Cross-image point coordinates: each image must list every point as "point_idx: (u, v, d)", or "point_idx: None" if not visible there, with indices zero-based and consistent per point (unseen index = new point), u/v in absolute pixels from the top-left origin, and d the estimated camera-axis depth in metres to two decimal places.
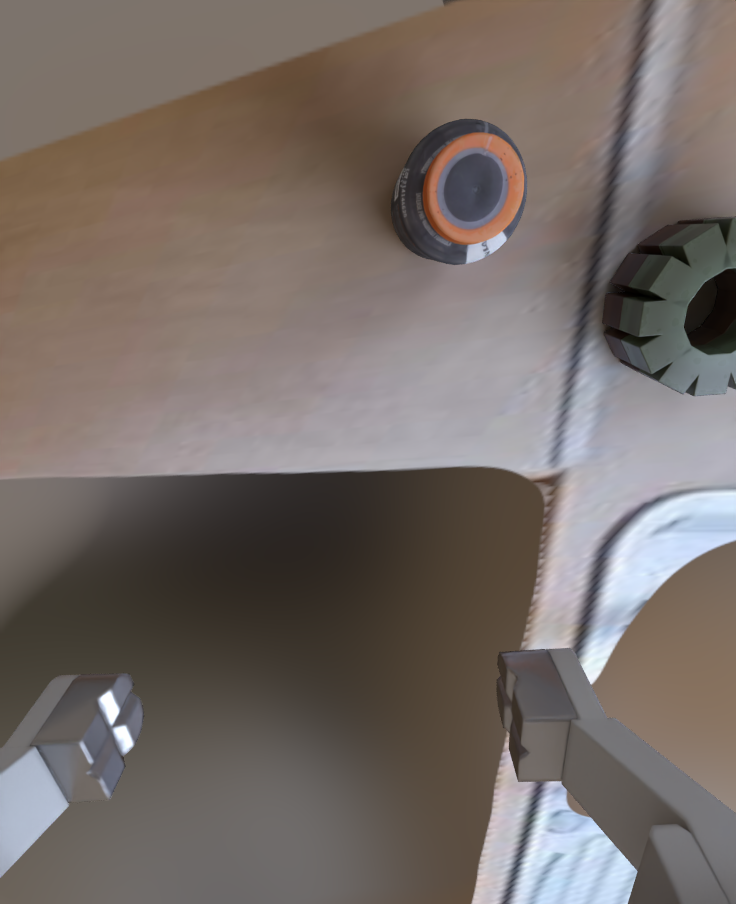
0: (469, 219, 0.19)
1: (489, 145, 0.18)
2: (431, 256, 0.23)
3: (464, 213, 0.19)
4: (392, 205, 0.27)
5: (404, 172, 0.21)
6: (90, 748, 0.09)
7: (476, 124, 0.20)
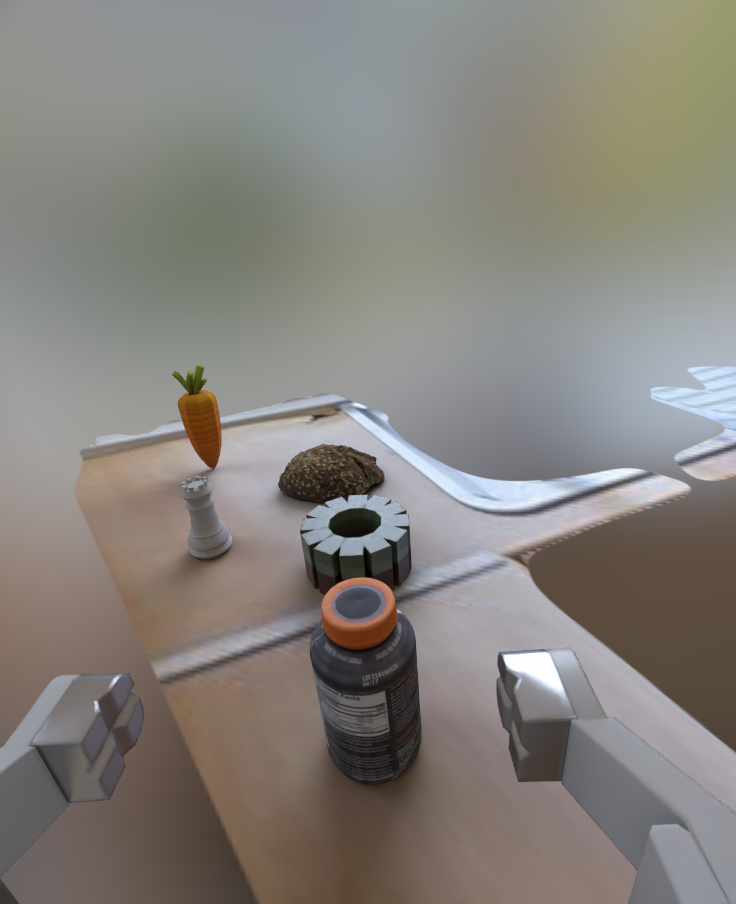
0: (377, 595, 0.25)
1: (328, 605, 0.25)
2: (414, 638, 0.26)
3: (375, 599, 0.25)
4: (392, 748, 0.26)
5: (366, 682, 0.24)
6: (90, 748, 0.09)
7: (314, 647, 0.25)
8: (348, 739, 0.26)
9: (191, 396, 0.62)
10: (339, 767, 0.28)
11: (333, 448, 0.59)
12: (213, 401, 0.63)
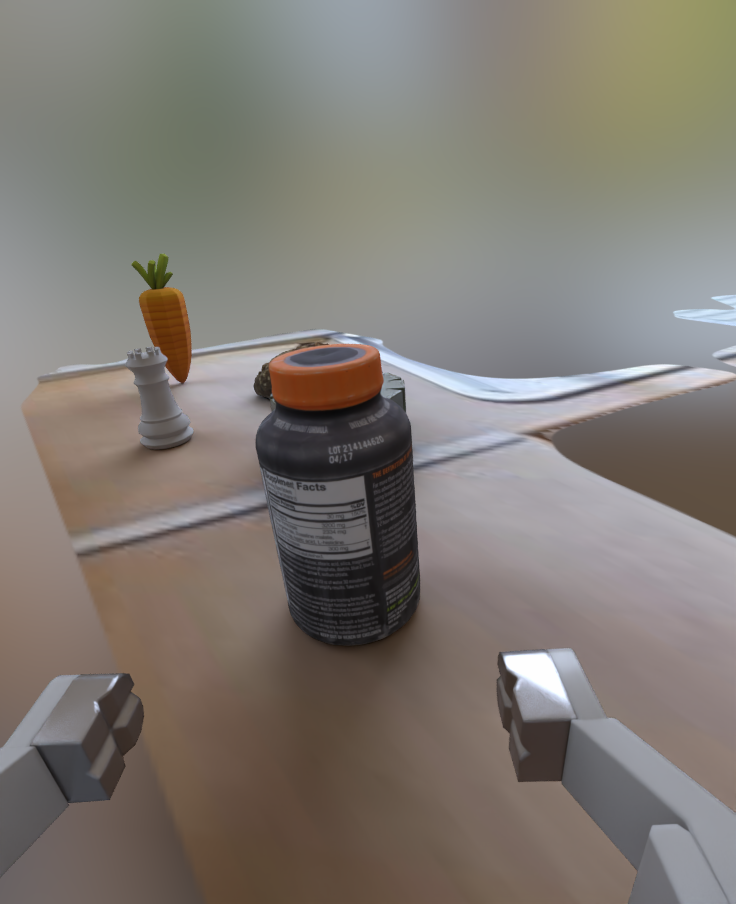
0: (353, 349, 0.17)
1: (279, 360, 0.17)
2: (409, 422, 0.18)
3: (350, 350, 0.17)
4: (378, 585, 0.18)
5: (334, 457, 0.15)
6: (90, 748, 0.09)
7: (261, 429, 0.17)
8: (311, 567, 0.17)
9: (153, 290, 0.54)
10: (303, 626, 0.19)
11: (317, 343, 0.51)
12: (180, 298, 0.55)
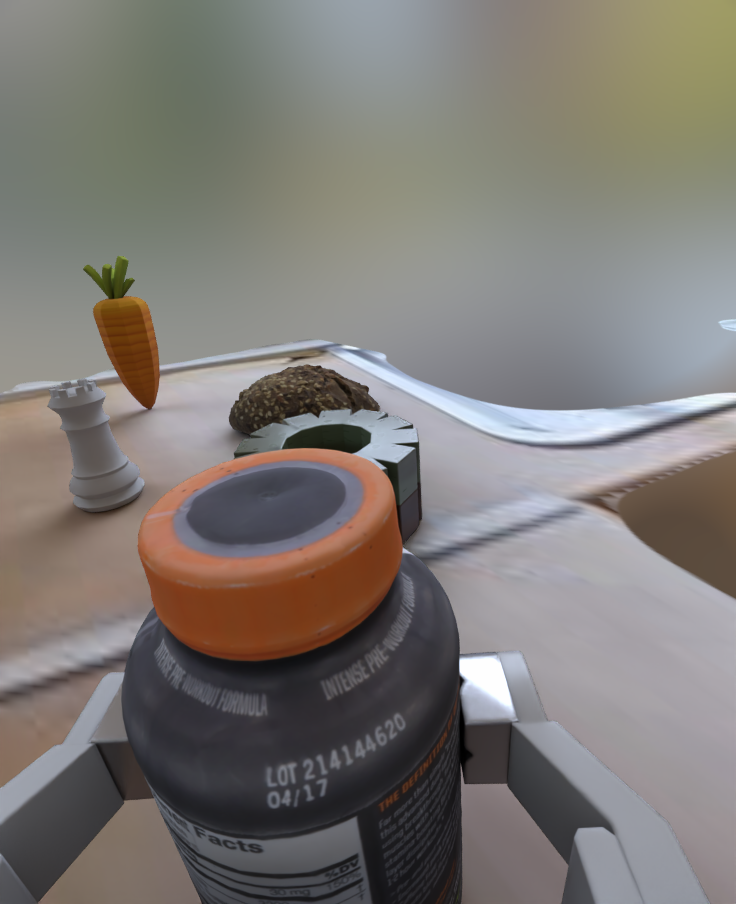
0: (336, 481, 0.08)
1: (167, 511, 0.07)
2: (455, 625, 0.08)
3: (327, 488, 0.07)
4: None
5: (280, 794, 0.06)
6: None
7: (132, 653, 0.08)
8: None
9: (110, 300, 0.44)
10: None
11: (306, 366, 0.41)
12: (143, 309, 0.46)
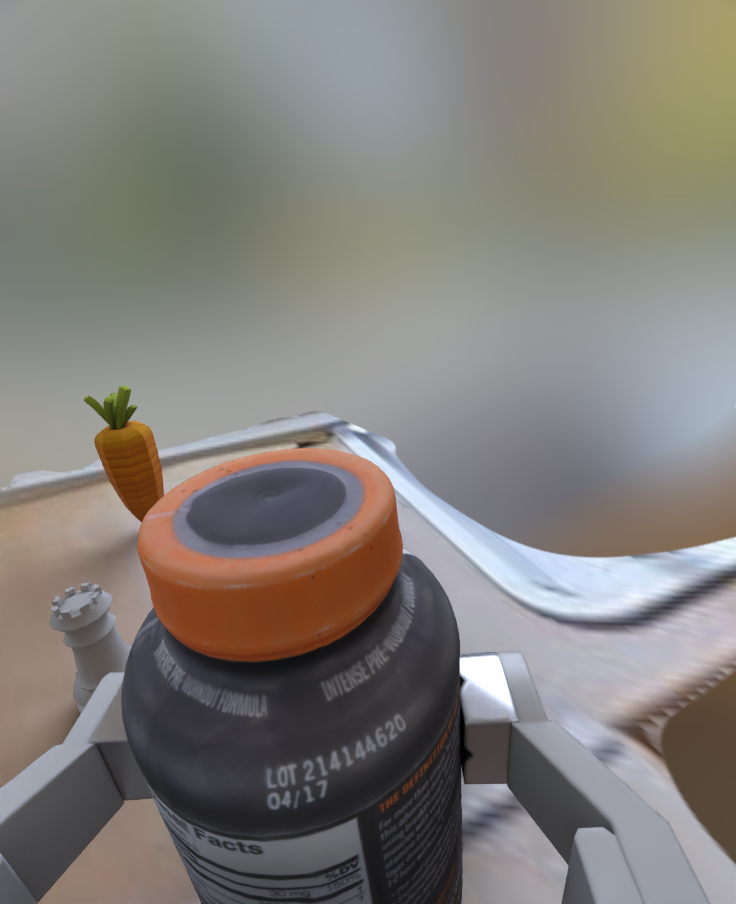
0: (336, 481, 0.08)
1: (167, 511, 0.07)
2: (455, 625, 0.08)
3: (327, 488, 0.07)
4: None
5: (280, 795, 0.06)
6: None
7: (132, 653, 0.08)
8: None
9: (112, 431, 0.43)
10: None
11: None
12: (147, 437, 0.44)
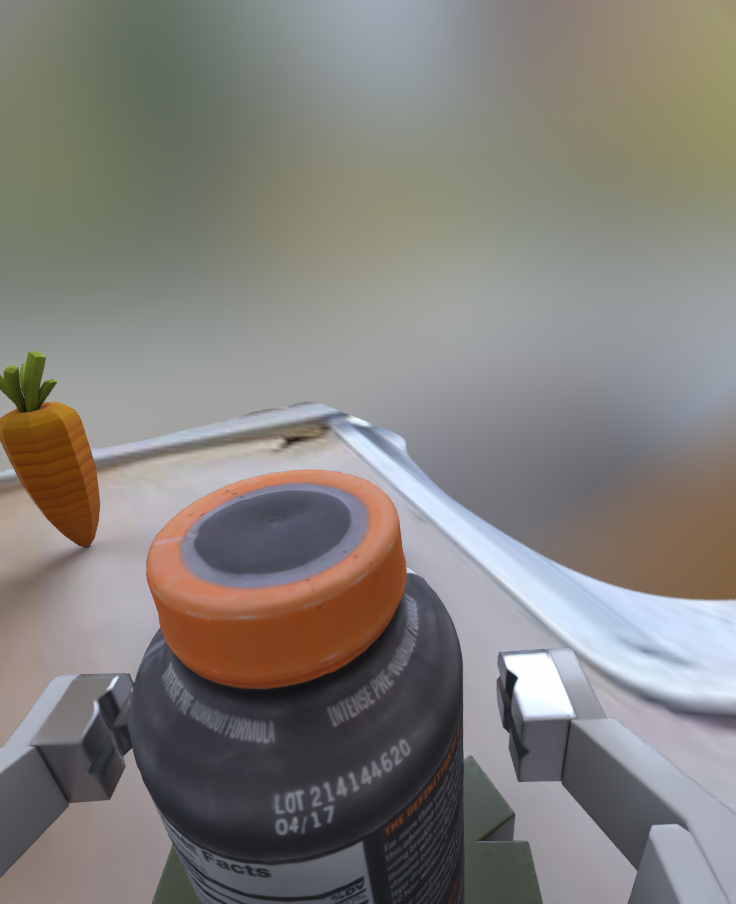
0: (341, 505, 0.08)
1: (174, 537, 0.07)
2: (458, 646, 0.08)
3: (333, 514, 0.07)
4: None
5: (288, 821, 0.06)
6: (90, 748, 0.09)
7: (140, 676, 0.08)
8: None
9: (18, 415, 0.31)
10: None
11: None
12: (70, 423, 0.32)
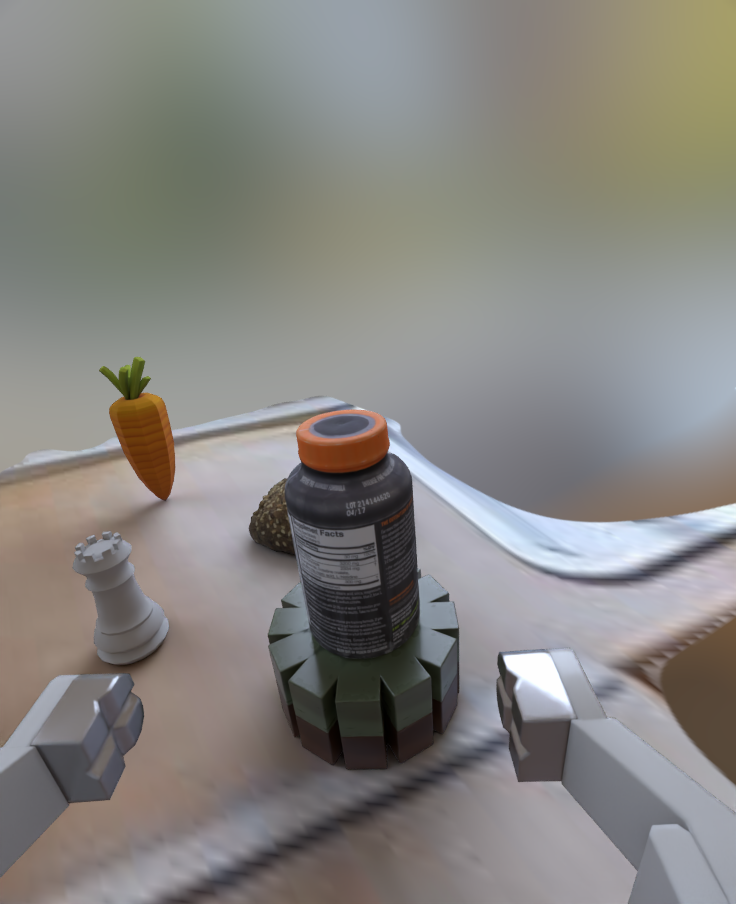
0: (365, 418, 0.21)
1: (305, 428, 0.20)
2: (410, 476, 0.21)
3: (362, 420, 0.20)
4: (385, 610, 0.21)
5: (350, 511, 0.19)
6: (90, 748, 0.09)
7: (289, 483, 0.21)
8: (331, 596, 0.21)
9: (126, 401, 0.44)
10: (322, 642, 0.23)
11: None
12: (160, 407, 0.45)
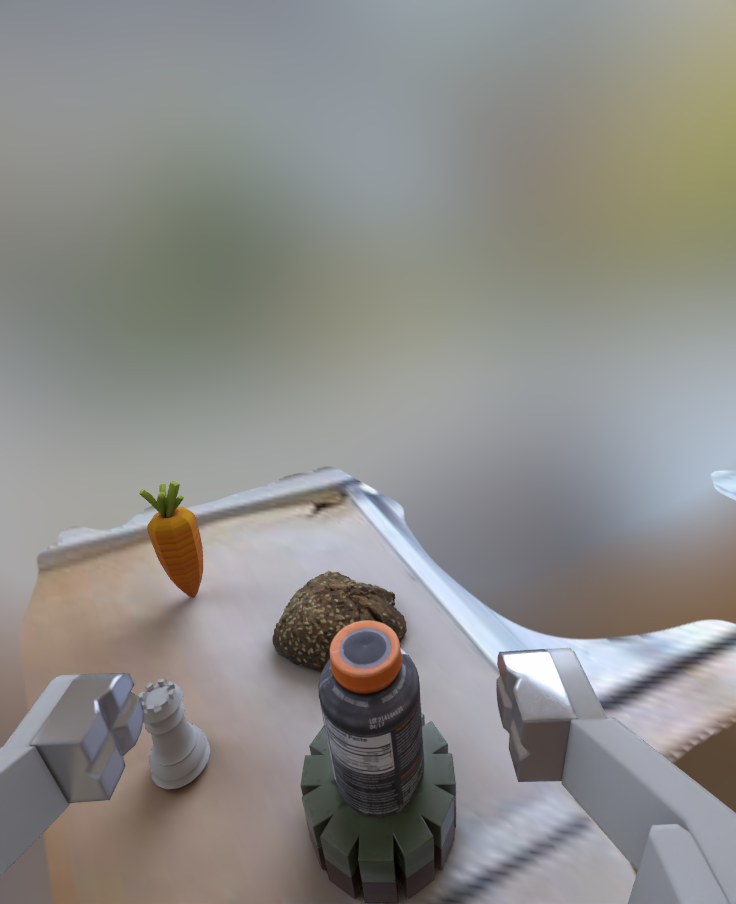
0: (383, 639, 0.27)
1: (336, 650, 0.26)
2: (418, 679, 0.27)
3: (381, 643, 0.26)
4: (397, 784, 0.27)
5: (372, 725, 0.25)
6: (90, 748, 0.09)
7: (323, 689, 0.27)
8: (355, 776, 0.27)
9: (163, 520, 0.49)
10: (346, 800, 0.29)
11: (342, 594, 0.46)
12: (192, 523, 0.51)
